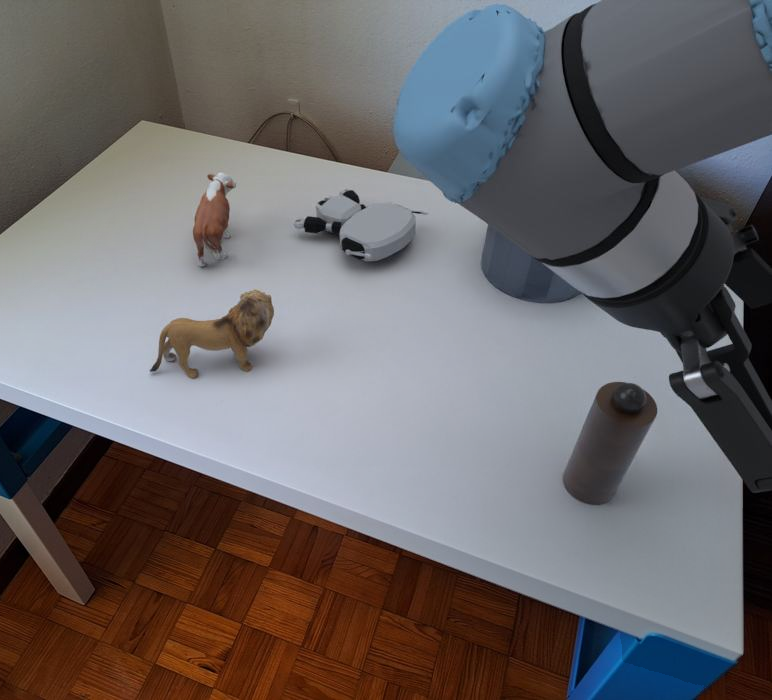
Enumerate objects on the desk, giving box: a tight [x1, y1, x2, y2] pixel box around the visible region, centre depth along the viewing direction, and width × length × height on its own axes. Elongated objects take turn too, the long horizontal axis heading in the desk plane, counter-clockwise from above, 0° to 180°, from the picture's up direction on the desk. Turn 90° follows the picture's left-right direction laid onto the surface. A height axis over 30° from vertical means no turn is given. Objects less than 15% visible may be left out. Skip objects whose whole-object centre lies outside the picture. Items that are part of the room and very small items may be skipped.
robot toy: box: [293, 188, 430, 263], centre depth 92 cm, size 12×4×15 cm
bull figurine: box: [192, 171, 237, 268], centre depth 91 cm, size 4×13×8 cm, turn 170°
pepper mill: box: [562, 381, 658, 506], centre depth 60 cm, size 5×5×14 cm
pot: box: [480, 224, 582, 304], centre depth 84 cm, size 14×14×10 cm
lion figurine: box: [149, 289, 275, 379], centre depth 75 cm, size 15×5×9 cm, turn 104°
